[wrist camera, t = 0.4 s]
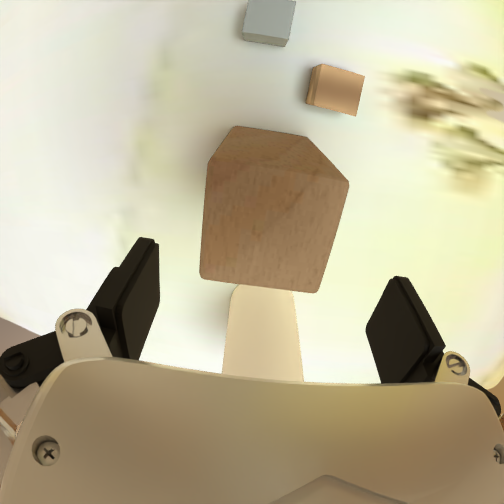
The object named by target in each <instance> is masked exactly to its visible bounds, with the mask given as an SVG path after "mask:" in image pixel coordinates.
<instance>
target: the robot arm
mask: <svg viewBox="0 0 504 504" xmlns="http://www.w3.org/2000/svg"><path fill="white" fill-rule="evenodd" d="M159 302H160V283H159V244H157V243H155V241H154V239H150V238H143V237H139V238H138V240H137V241H136V243H135V244H134V246H133V247H132V248H131V250H130V251H129V253H128V254H127V256H126V257H125V259H124V260H123V262H122V264H121V265H120V267H114V268H113V269H112V270H111V272H110V273H109V275H108V276H107V278H106V279H105V281H104V282H103V284H102V285H101V287H100V289H99V290H98V292H97V293H96V295H95V296H94V298H93V300H92V301H91V303H90V305H89V306H88V308H87V309H86V310H85V309H71V310H69V311H66V312H65V313H63V314H62V315H60V317H59V318H58V319H57V321H56V324H55V330H56V331H54V332H51V333H48V334H46V335H43V336H40V337H37V338H35V339H32V340H29V341H26V342H24V343H21V344H18V345H16V346H13V347H11V348H9V349H7V350H6V351H5V352H4V353H3V354H2V356H1V357H0V504H504V414H502V415H500V413H501V406H500V403H499V400H498V399H497V397H496V396H494V395H493V394H492V393H490V392H489V391H487V390H486V389H485V388H483V387H482V386H480V385H479V384H477V383H476V382H475V381H473V380H472V379H470V378H469V375H470V367H469V364H468V363H467V361H466V360H465V359H464V357H462V356H461V355H460V354H458V353H456V352H452V351H449V352H446V353H445V354H444V353H443V349H444V348H445V347H446V345H445V343H444V341H443V339H442V338H441V336H440V334H439V332H438V330H437V328H436V326H435V324H434V322H433V320H432V319H431V317H430V315H429V313H428V311H427V310H426V308H425V306H424V304H423V302H422V301H421V299H420V297H419V296H418V294H417V292H416V290H415V289H414V287H413V285H412V284H411V282H410V280H409V279H408V278H406V277H400V276H394V277H393V279H390V280H389V282H388V284H387V286H386V288H385V290H384V292H383V294H382V296H381V298H380V300H379V302H378V304H377V306H376V308H375V310H374V312H373V314H372V316H371V318H370V320H369V321H368V323H367V325H366V335H367V338H368V341H369V344H370V347H371V351H372V354H373V357H374V360H375V363H376V367H377V370H378V373H379V377H380V380H381V384H350V383H317V382H299V381H285V380H273V379H262V378H252V377H243V376H235V375H227V374H219V373H212V372H206V371H199V370H193V369H186V368H180V367H174V366H168V365H163V364H157V363H152V362H145V361H139V358H140V355H141V352H142V349H143V346H144V344H145V341H146V338H147V336H148V333H149V330H150V328H151V325H152V322H153V320H154V317H155V314H156V312H157V309H158V307H159ZM21 421H23V422H22V424H21V426H20V429H19V431H18V434H17V437H16V429H17V426H18V425H19V424H20V423H21ZM52 448H53V449H54V450H52Z"/></svg>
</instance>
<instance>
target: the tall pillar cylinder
mask: <svg viewBox="0 0 504 504" xmlns="http://www.w3.org/2000/svg"><path fill="white" fill-rule="evenodd" d="M222 374H227V375H235V376H243V377H252V378H262V379H273V380H285V381H299V382H304V377H303V368H302V359H301V351H300V342H299V334H298V326H297V318H296V311H295V303H294V297H293V294H292V292H291V291H290V290H282V289H273V288H265V287H257V286H250V285H242V284H239V285H238V286H237V287H236V288H235V290H234V291H233V293H232V296H231V302H230V309H229V317H228V325H227V333H226V342H225V350H224V358H223V366H222Z"/></svg>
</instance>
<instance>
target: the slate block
mask: <svg viewBox="0 0 504 504" xmlns="http://www.w3.org/2000/svg"><path fill="white" fill-rule="evenodd" d="M295 5H296V1H292V0H248V5H247V10H246V14H245V19H244V24H243V29H242V34H243V37H244V40H245V41H251V42H258V43H264V44H270V45H276V46H281V47H285V45H286V43H287V42H288V40H289V35H290V30H291V25H292V20H293V15H294V10H295Z"/></svg>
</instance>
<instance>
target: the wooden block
mask: <svg viewBox="0 0 504 504" xmlns="http://www.w3.org/2000/svg"><path fill="white" fill-rule="evenodd" d="M348 189H349V181H348V180H347V179H346V178H345V177H344V176H343V175H342V173H341V172H340V171H339V170H338V169H337V168H336V167H335V166H334V165H333V164H332V162H331V161H330V160H329V159H328V158H327V157H326V156H325V155H324V154H323V153H322V152H321V151H320V150H319V149H318V148H317V147H316V146H315V145H314V144H313V143H312V142H311V141H310V140H309V139H308V138H307V137H303V136H298V135H292V134H287V133H281V132H275V131H269V130H262V129H255V128H248V127H240V126H235V127H233V128H232V130H231V131H230V132H229V134H228V135H227V136H226V138H225V139H224V141H223V142H222V143H221V145H220V146H219V148H218V149H217V150H216V152H215V153H214V155H213V156H212V157H211V159H210V161H209V162H208V167H207V178H206V188H205V199H204V211H203V224H202V238H201V253H200V269H199V273H200V276H201V278H203V279H206V280H213V281H220V282H227V283H235V284H242V285H250V286H257V287H265V288H273V289H282V290H290V291H298V292H307V293H316V292H317V291H318V289H319V287H320V284H321V281H322V278H323V274H324V271H325V268H326V265H327V262H328V259H329V255H330V252H331V249H332V246H333V242H334V239H335V235H336V232H337V229H338V225H339V222H340V218H341V215H342V211H343V207H344V204H345V200H346V196H347V193H348Z"/></svg>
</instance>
